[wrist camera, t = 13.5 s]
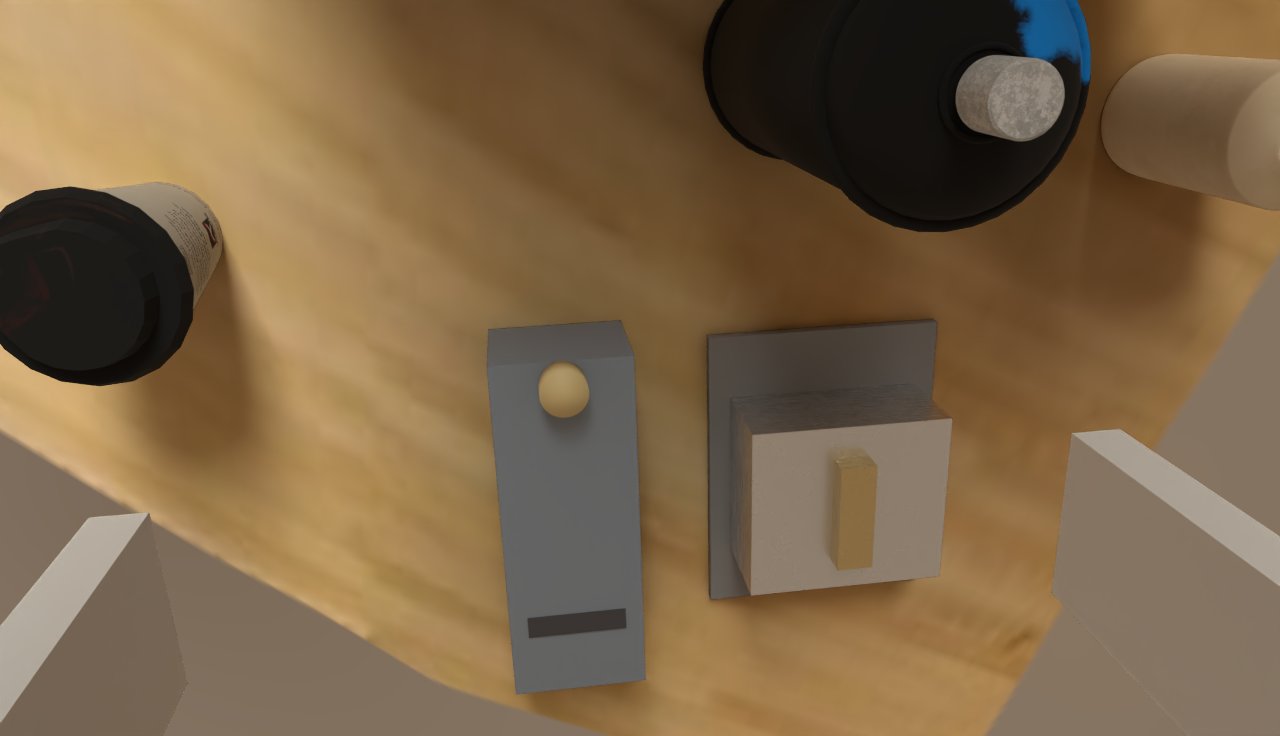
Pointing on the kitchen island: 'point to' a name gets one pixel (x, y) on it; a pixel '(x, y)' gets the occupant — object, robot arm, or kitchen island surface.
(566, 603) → the block plane
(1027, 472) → the kitchen island surface
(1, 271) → the coffee cup
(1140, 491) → the robot arm
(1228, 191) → the candle
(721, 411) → the rubber mat
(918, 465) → the lever cap
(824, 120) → the aerosol can
